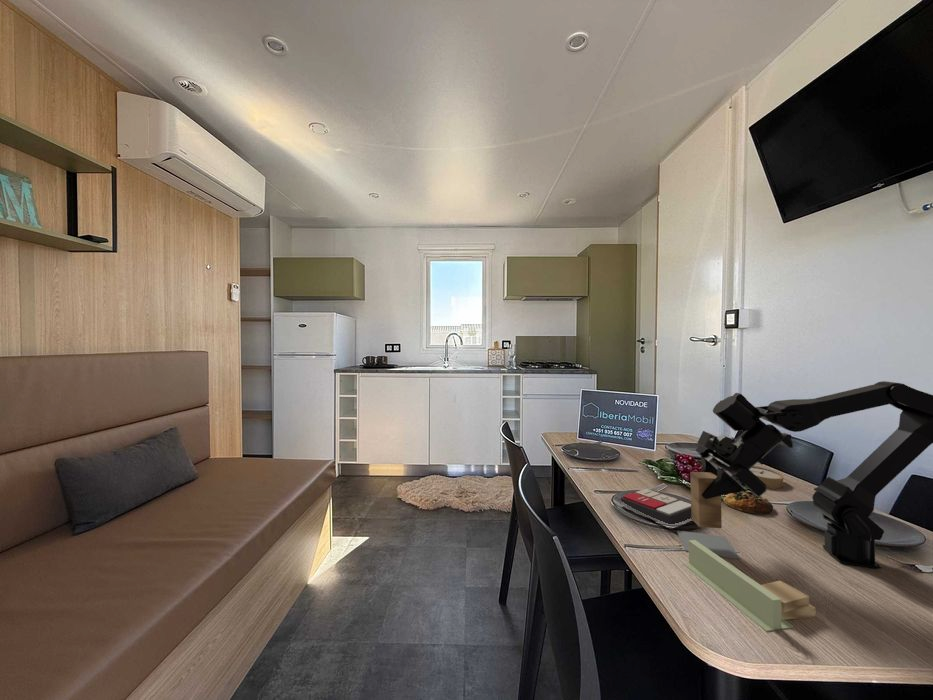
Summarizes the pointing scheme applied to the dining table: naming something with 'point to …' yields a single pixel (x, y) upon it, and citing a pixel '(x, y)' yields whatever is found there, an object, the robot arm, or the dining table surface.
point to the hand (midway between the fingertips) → (698, 493)
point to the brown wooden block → (704, 501)
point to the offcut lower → (799, 613)
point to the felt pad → (709, 543)
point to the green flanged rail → (737, 588)
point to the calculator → (658, 506)
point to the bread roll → (748, 502)
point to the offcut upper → (787, 595)
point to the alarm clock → (768, 477)
